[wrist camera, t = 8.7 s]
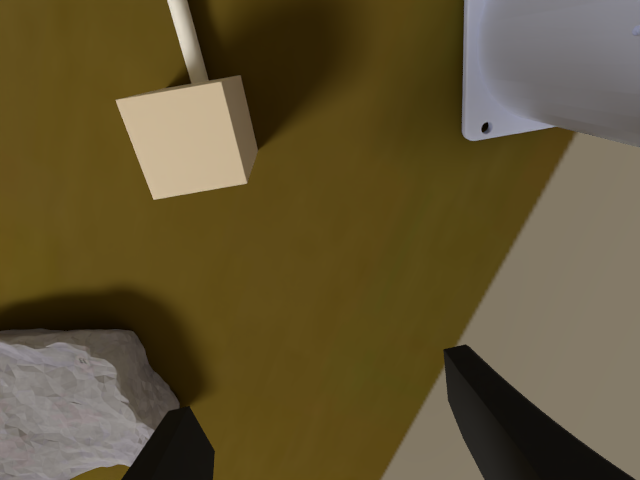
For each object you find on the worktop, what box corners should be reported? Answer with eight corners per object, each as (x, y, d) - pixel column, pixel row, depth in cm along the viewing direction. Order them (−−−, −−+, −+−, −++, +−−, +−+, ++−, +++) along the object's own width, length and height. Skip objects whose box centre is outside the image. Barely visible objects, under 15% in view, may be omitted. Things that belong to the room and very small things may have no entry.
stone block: (-54, 325, 22) (21, 456, 25) (-147, 374, 17) (-43, 529, 20) (139, 277, 22) (193, 413, 25) (98, 313, 17) (170, 475, 20)
